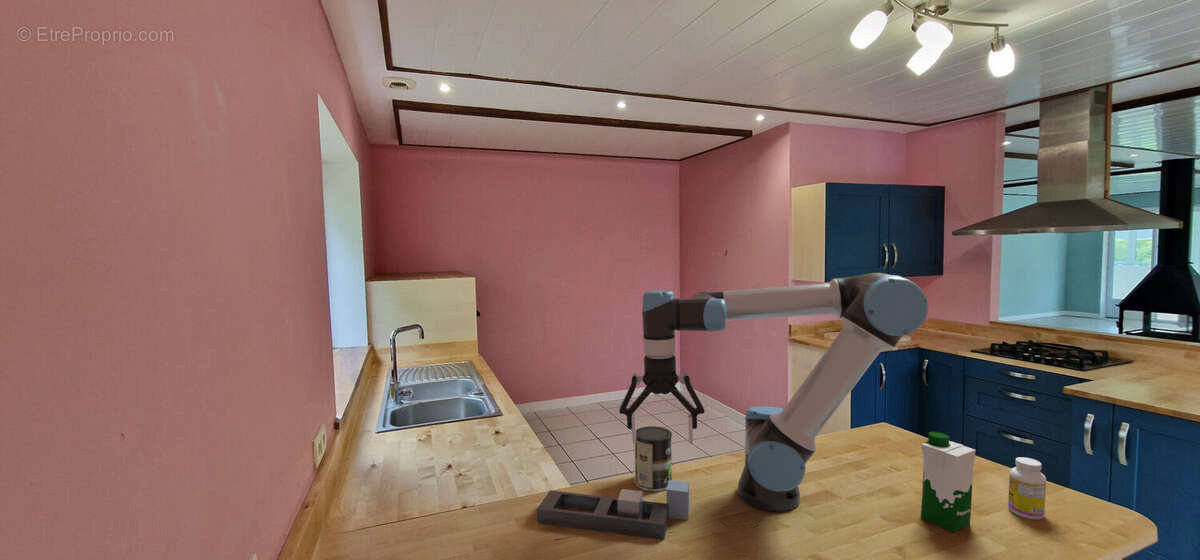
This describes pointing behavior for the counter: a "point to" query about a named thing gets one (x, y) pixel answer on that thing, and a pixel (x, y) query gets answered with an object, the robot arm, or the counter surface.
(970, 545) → the counter surface
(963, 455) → the milk carton
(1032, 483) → the supplement bottle
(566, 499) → the dark grey compartment tray
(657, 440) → the coffee can
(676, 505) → the blue-grey rectangular block
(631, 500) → the pale wooden cube
